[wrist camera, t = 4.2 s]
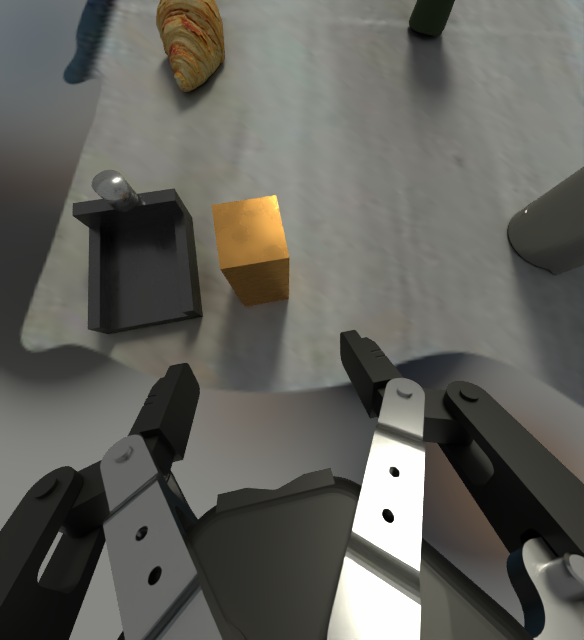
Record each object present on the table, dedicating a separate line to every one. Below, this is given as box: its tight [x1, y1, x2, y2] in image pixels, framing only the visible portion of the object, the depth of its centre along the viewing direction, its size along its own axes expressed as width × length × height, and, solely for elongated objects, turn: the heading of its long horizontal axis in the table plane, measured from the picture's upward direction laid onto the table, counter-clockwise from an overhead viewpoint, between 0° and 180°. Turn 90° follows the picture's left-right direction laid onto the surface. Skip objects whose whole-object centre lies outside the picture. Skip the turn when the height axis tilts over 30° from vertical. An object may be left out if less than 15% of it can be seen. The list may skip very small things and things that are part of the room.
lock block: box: [212, 195, 289, 307], centre depth 23 cm, size 6×6×10 cm
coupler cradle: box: [73, 170, 203, 334], centre depth 24 cm, size 15×11×7 cm
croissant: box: [156, 0, 225, 92], centre depth 35 cm, size 21×10×8 cm, turn 178°
